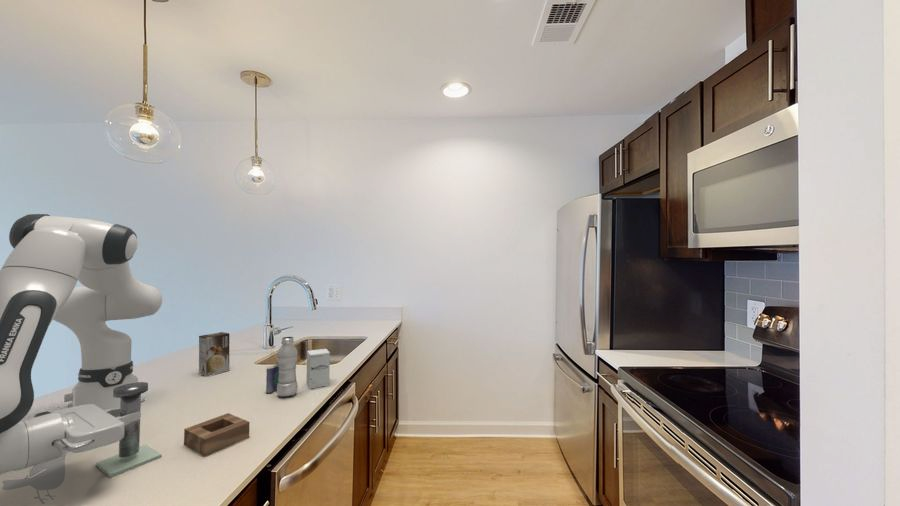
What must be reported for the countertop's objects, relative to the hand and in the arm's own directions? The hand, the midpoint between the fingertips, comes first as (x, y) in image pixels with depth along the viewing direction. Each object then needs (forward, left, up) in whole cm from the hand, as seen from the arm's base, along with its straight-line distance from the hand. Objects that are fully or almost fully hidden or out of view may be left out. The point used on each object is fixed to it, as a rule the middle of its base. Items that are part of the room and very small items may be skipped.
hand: (135, 412), depth 81 cm
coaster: (0, -1, -11) cm, 11 cm away
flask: (-12, +44, -11) cm, 47 cm away
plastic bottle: (-4, +42, -11) cm, 44 cm away
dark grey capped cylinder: (0, -1, -9) cm, 9 cm away
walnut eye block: (+8, +14, -11) cm, 20 cm away
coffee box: (-53, +42, -11) cm, 69 cm away
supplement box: (-3, +54, -11) cm, 56 cm away
